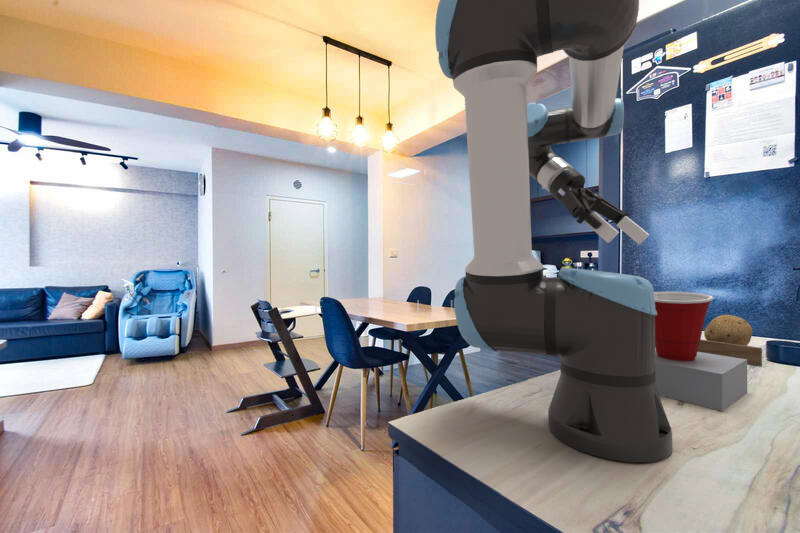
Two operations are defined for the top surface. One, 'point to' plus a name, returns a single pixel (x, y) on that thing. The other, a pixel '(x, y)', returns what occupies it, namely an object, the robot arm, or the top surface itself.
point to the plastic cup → (679, 323)
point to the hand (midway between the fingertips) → (629, 238)
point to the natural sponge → (729, 330)
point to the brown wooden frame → (732, 351)
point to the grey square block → (702, 379)
